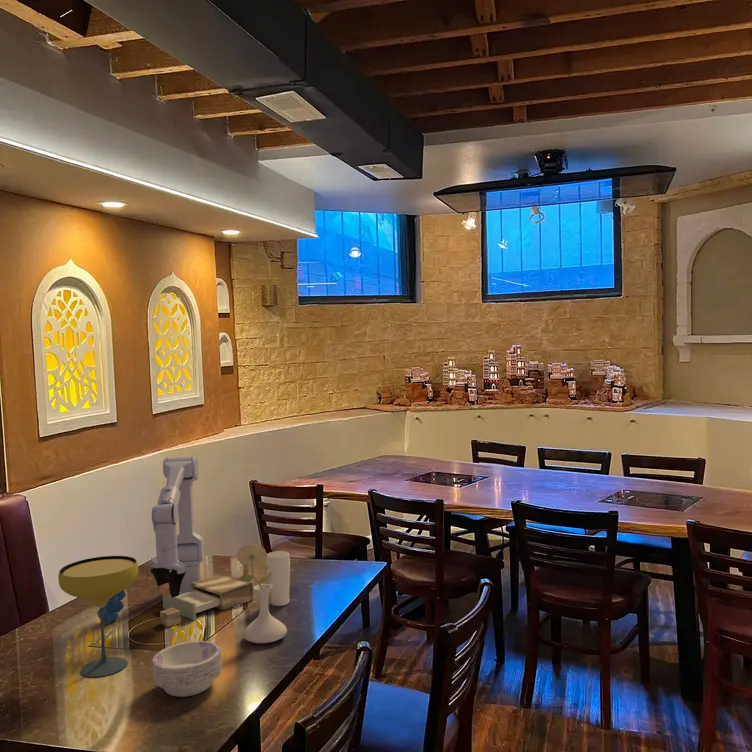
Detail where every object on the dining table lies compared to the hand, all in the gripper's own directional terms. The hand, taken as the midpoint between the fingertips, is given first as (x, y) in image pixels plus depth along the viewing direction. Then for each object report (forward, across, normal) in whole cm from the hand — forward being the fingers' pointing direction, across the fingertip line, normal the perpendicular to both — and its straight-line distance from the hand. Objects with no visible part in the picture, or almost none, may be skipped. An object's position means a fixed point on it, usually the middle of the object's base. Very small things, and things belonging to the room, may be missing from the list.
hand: (169, 594), depth 204 cm
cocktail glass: (+8, +13, -26) cm, 30 cm away
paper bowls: (+8, +39, -19) cm, 44 cm away
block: (+8, 0, 0) cm, 8 cm away
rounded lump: (-1, 0, 0) cm, 1 cm away
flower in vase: (+8, +30, +9) cm, 32 cm away
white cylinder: (+8, +13, +29) cm, 33 cm away
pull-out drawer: (+8, -4, +10) cm, 14 cm away
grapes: (+8, -16, -10) cm, 21 cm away
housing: (+8, -4, +20) cm, 22 cm away
